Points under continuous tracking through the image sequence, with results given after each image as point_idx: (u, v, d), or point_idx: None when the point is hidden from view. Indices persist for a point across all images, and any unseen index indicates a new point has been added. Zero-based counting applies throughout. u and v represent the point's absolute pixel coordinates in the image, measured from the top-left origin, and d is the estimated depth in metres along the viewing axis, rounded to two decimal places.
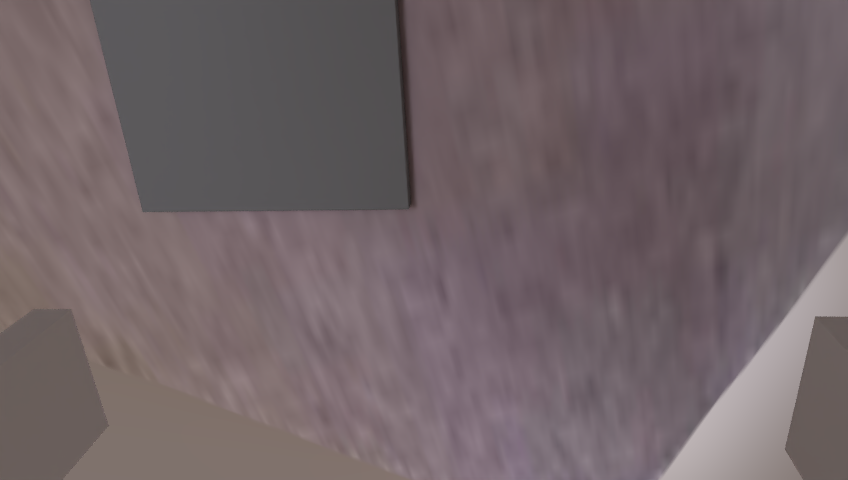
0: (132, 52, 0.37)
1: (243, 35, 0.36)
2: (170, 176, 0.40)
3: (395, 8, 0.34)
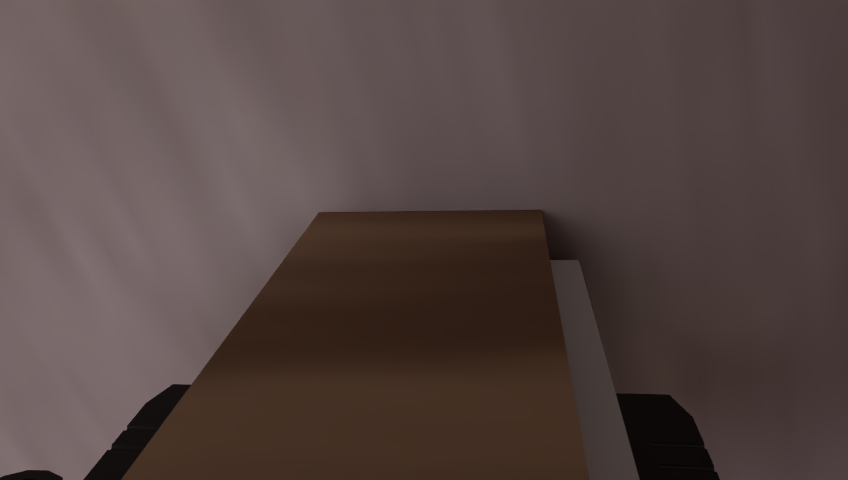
0: None
1: None
2: None
3: None
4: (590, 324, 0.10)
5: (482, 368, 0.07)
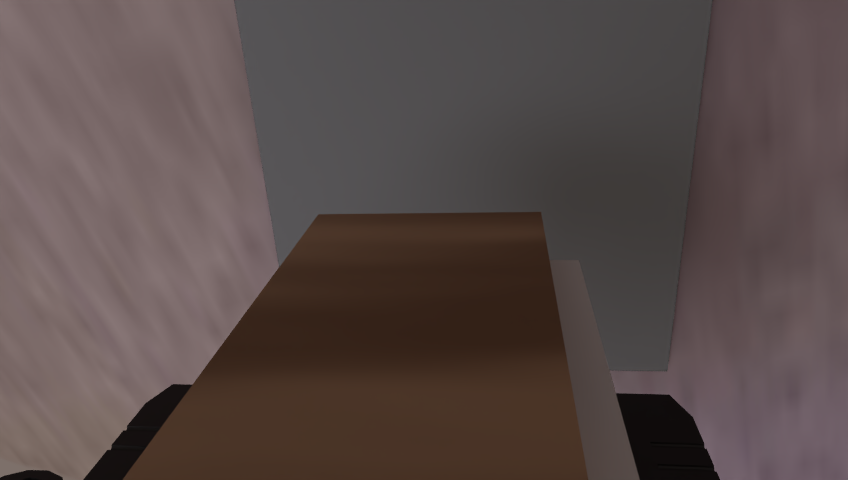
0: (304, 169, 0.27)
1: (467, 149, 0.25)
2: None
3: (696, 116, 0.24)
4: (590, 324, 0.10)
5: (481, 372, 0.07)
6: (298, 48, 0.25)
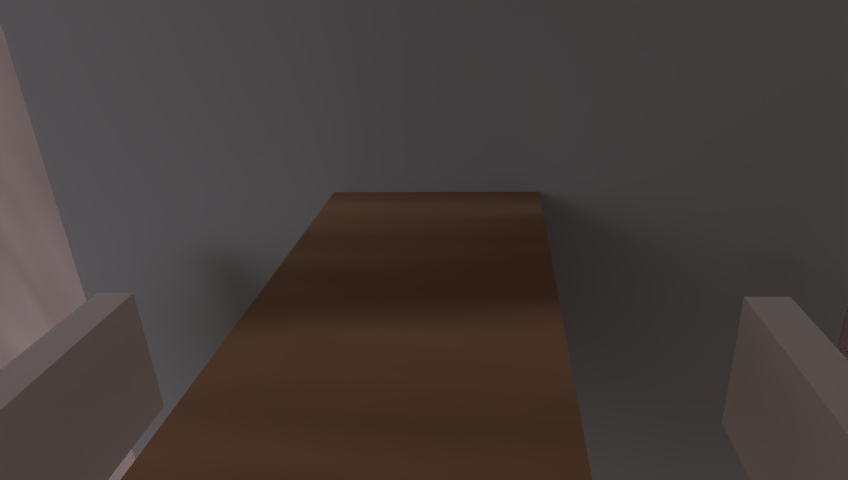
0: (159, 312, 0.15)
1: None
2: None
3: None
4: None
5: (486, 318, 0.08)
6: (127, 113, 0.13)
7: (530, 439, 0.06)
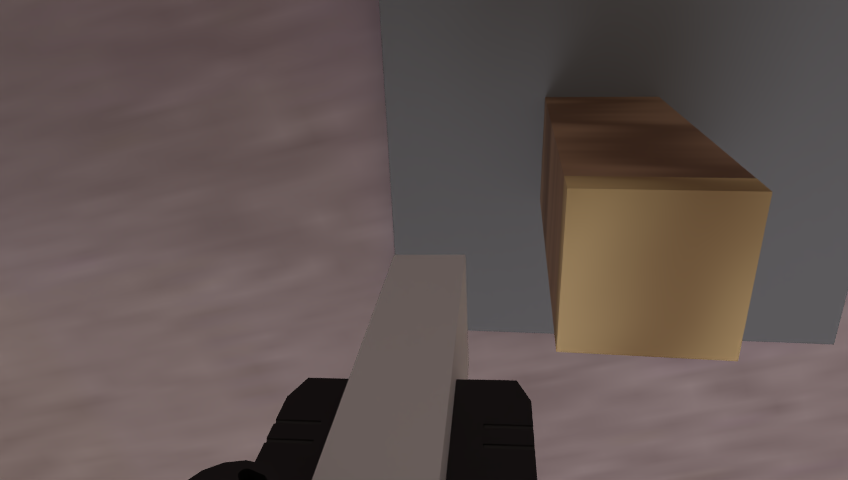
0: None
1: None
2: (787, 293, 0.27)
3: None
4: (452, 314, 0.10)
5: (550, 155, 0.21)
6: (496, 288, 0.29)
7: (555, 160, 0.18)
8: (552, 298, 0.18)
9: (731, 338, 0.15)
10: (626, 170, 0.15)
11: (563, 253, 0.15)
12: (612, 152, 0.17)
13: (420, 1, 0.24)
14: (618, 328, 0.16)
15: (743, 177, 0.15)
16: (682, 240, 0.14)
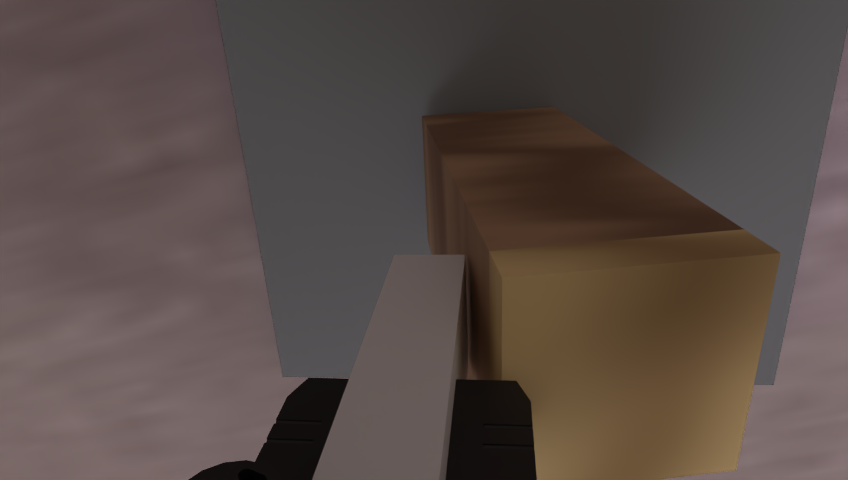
0: None
1: None
2: None
3: None
4: (452, 314, 0.10)
5: (444, 197, 0.16)
6: None
7: (458, 211, 0.14)
8: None
9: (727, 445, 0.11)
10: (570, 232, 0.11)
11: (502, 368, 0.10)
12: (537, 199, 0.12)
13: None
14: (583, 455, 0.11)
15: (727, 229, 0.11)
16: (665, 330, 0.10)
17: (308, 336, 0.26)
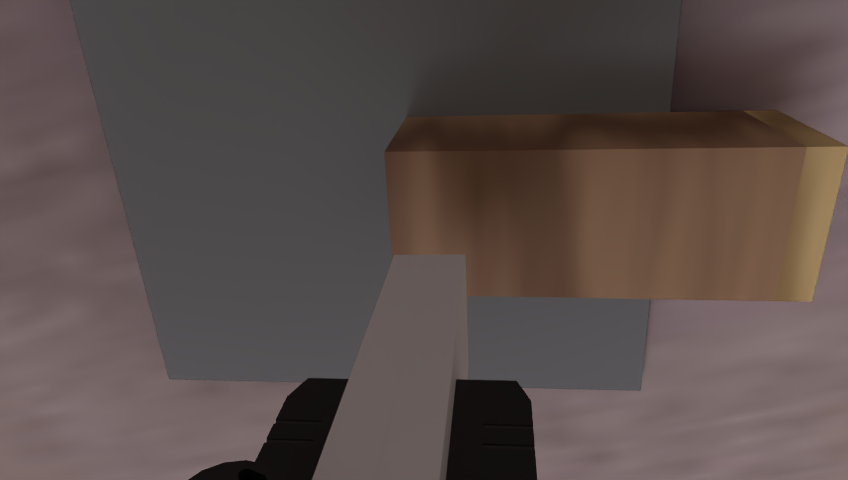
0: None
1: (351, 180, 0.22)
2: (581, 335, 0.24)
3: None
4: (452, 314, 0.10)
5: (578, 185, 0.17)
6: (265, 335, 0.25)
7: (669, 168, 0.16)
8: (730, 288, 0.17)
9: None
10: (762, 132, 0.17)
11: (832, 208, 0.16)
12: (697, 134, 0.17)
13: (119, 10, 0.21)
14: None
15: (744, 112, 0.20)
16: None
17: (190, 339, 0.26)
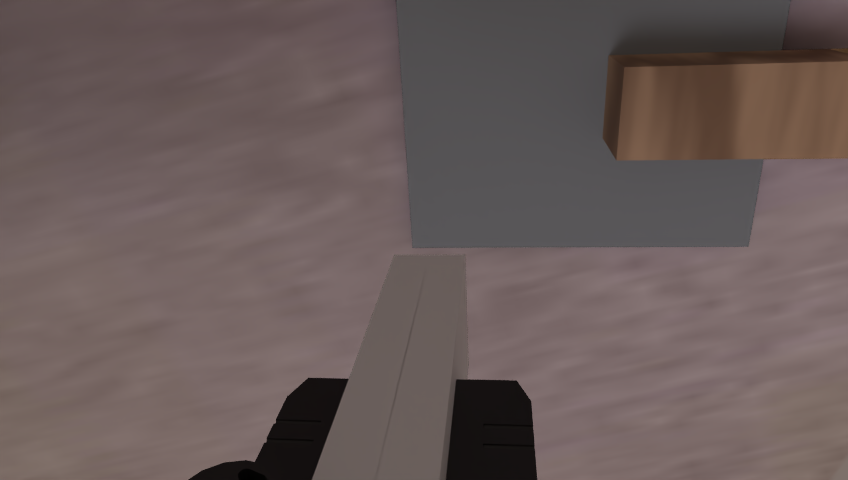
0: (572, 218, 0.37)
1: (565, 99, 0.34)
2: (710, 206, 0.35)
3: None
4: (452, 314, 0.10)
5: (740, 86, 0.28)
6: (488, 212, 0.37)
7: (796, 74, 0.28)
8: (828, 151, 0.29)
9: None
10: None
11: None
12: (808, 57, 0.29)
13: None
14: None
15: (831, 49, 0.31)
16: None
17: (433, 217, 0.38)
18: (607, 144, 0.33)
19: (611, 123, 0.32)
